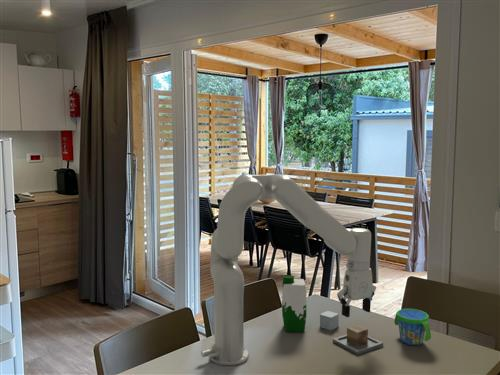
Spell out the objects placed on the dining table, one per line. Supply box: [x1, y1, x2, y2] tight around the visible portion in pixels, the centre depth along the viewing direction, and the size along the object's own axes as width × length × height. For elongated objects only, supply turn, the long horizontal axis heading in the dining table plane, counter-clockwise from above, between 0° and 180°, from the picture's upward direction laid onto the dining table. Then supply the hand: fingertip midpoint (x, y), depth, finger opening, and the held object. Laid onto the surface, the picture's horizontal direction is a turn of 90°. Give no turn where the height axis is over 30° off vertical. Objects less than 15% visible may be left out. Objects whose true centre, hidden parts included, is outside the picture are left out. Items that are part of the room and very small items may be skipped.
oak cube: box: [346, 324, 369, 347], centre depth 167 cm, size 5×5×5 cm
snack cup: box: [393, 308, 432, 346], centre depth 168 cm, size 16×10×10 cm
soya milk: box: [281, 274, 307, 333], centre depth 180 cm, size 9×9×20 cm
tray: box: [332, 334, 384, 356], centre depth 167 cm, size 12×12×1 cm
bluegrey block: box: [319, 310, 340, 331], centre depth 183 cm, size 5×5×5 cm
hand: (356, 313), depth 166 cm, fingers open, 9 cm apart
